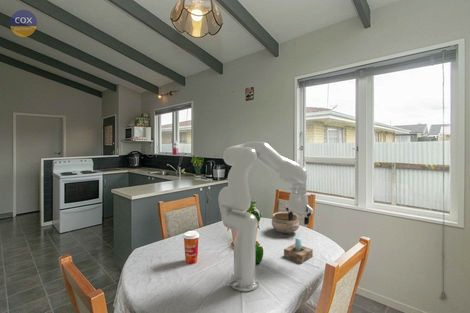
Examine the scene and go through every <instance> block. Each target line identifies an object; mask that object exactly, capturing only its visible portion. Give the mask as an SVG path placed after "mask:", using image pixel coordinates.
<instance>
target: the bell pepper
mask: <svg viewBox="0 0 470 313" xmlns="http://www.w3.org/2000/svg"><path fill="white" fill-rule="evenodd" d="M260 245H261V243H258V242H256V244H255V265H256V264H260V263H261V262H262V261H263V257H264V248H263V246H262V245H261V246H260Z"/></svg>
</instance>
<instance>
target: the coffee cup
mask: <svg viewBox="0 0 470 313" xmlns="http://www.w3.org/2000/svg"><path fill="white" fill-rule="evenodd" d="M182 237H183V244H184V260H185V263H186V264H187V265H194V264H196V263H197V262H198V256H199V255H198V252H199V251H198V250H199V237H200V234H199V232H198V231H195V230H189V231H185V232H184V233H183V235H182Z"/></svg>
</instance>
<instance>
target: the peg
mask: <svg viewBox="0 0 470 313" xmlns="http://www.w3.org/2000/svg"><path fill="white" fill-rule="evenodd" d="M294 244H295V251H298V252H301V246H302V238H301V237H297V236H296V237H295V241H294Z"/></svg>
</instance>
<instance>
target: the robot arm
mask: <svg viewBox="0 0 470 313" xmlns="http://www.w3.org/2000/svg"><path fill="white" fill-rule="evenodd" d="M223 151H224V152H223V155H222V160H223V161H224V163H225V164H226V165H228V166H231V167H230V169H229V170H228V175H227V186H224V187H222V188H221V189H220V191H219V193H218V199H217V200H218V206H219V211H220V216H221V217H220V218H221V221H222V224H223V226H224V227H225V228H227V229H229V230H231V231H233V232H235V233H237V234H236V237H235V239H234V241H233V274H231V278H230V279H229V280H227V281H225V282H224V283H225V286H226V287H230V286H231V287H232V289H234V290H235V291H239V292H251V291H254V290H256V289H257V288H258V287H259V285H260V281H259V280H260V279H259V278H258V277H257V276H256V264H255V244H257V242H256V241H257V240H256V238H257V232H258V228H259V221H258V218H257V217H256V216H255V215H254V214H253V213H251V212H248V210H249V209H250V208H251V205H252V201H251V200H252V198H251V192H250V186H249V180H248V179H249V178H248V177H249V173H250V171H251V169H252V167H253V166H254V165H255V163H256V161H259V162H260V163H261V164H262V165H264V166H265V168H267V169H268V170H270V171H272V172H274V173H279V179H280V180H281V181H282V182H284V183H288V184H289V183H290V184H291V187H290V188H289V190H290V191H291V192H290V193H289V198H288V202H287V203H285V204H284V206H285V210H286V212H288V218H289V221H290V220H293V213H296V214H297V213H298V214H303V215H304V218H303V219H304V222H303V225H304V226H307V225H309V223H310V217H311V216H312V215H313V213H314V211H315V210H314V209H313V208H312V207H311V206H309V197H308V193H307V182H308V181H307V180H308V174H307V173H308V172H307V169H306V168H303V167H302V166H301V165H300V164H298V163H297V162H296V161H293V160H291V159H288V158H287V157H284V156H282V155H281V154H280V153H278V151H277V150H275V149H274V148H273V147H272V146H271V145H270V144H268V143H267V142H265V141H247V142H244V143H240V144H237V145H236V144H235V145H233V146H229V147H227V148H226V149H225V150H223Z"/></svg>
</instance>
